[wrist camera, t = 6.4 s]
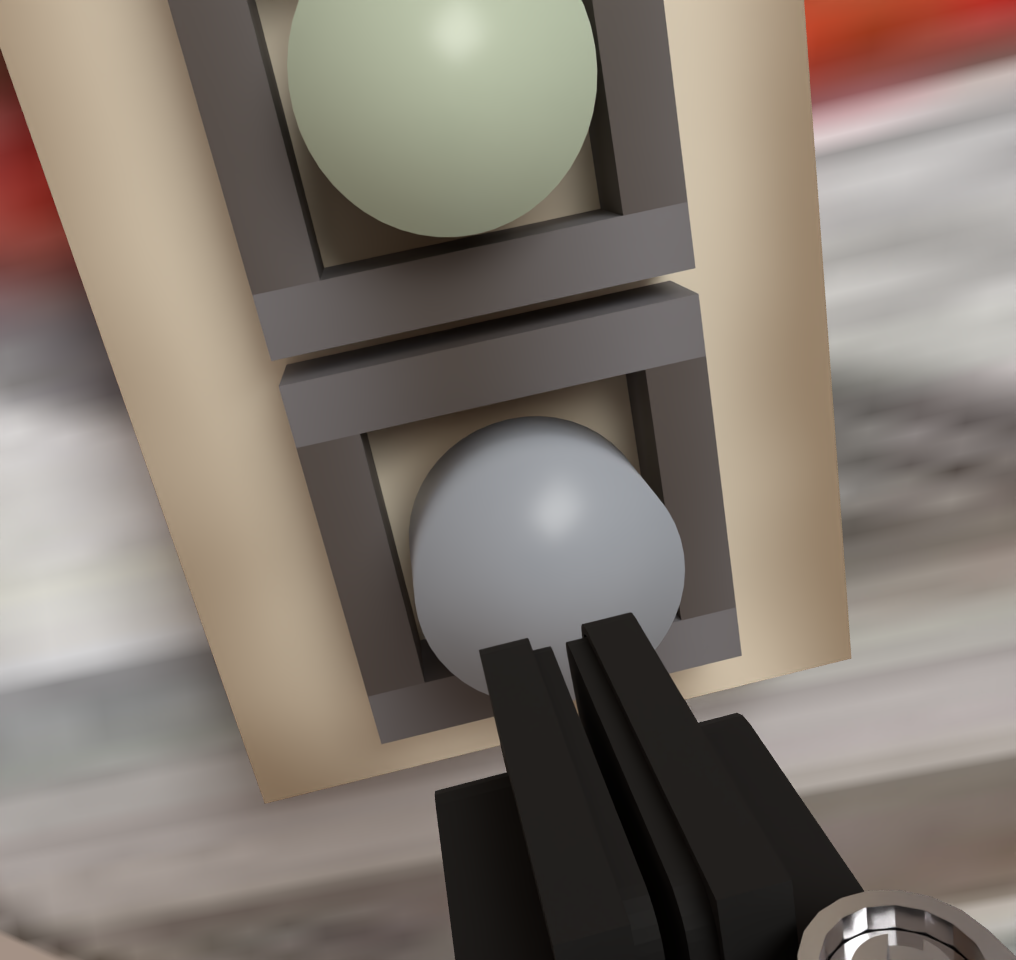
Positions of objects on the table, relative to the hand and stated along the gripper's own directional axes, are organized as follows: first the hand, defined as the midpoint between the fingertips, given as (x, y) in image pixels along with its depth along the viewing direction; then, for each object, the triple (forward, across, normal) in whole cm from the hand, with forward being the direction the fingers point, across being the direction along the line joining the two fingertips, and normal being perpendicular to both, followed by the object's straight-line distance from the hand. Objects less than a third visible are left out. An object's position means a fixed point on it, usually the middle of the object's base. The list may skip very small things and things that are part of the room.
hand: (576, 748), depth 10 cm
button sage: (+7, 0, -7) cm, 10 cm away
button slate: (+6, 0, 0) cm, 6 cm away
